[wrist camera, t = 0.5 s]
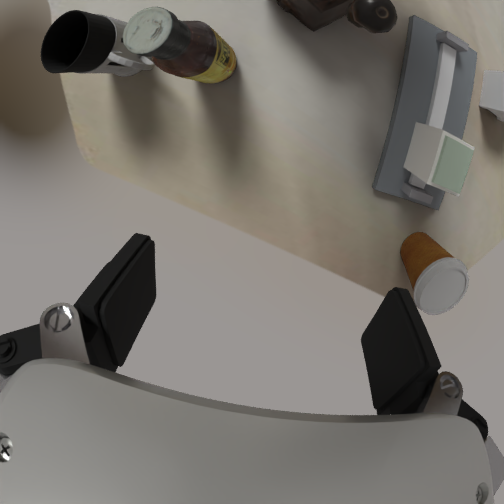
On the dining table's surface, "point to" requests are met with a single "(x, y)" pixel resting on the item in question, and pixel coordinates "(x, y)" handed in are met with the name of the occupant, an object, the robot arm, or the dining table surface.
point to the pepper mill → (343, 13)
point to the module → (493, 93)
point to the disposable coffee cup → (433, 274)
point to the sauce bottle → (180, 46)
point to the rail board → (429, 118)
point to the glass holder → (89, 46)
